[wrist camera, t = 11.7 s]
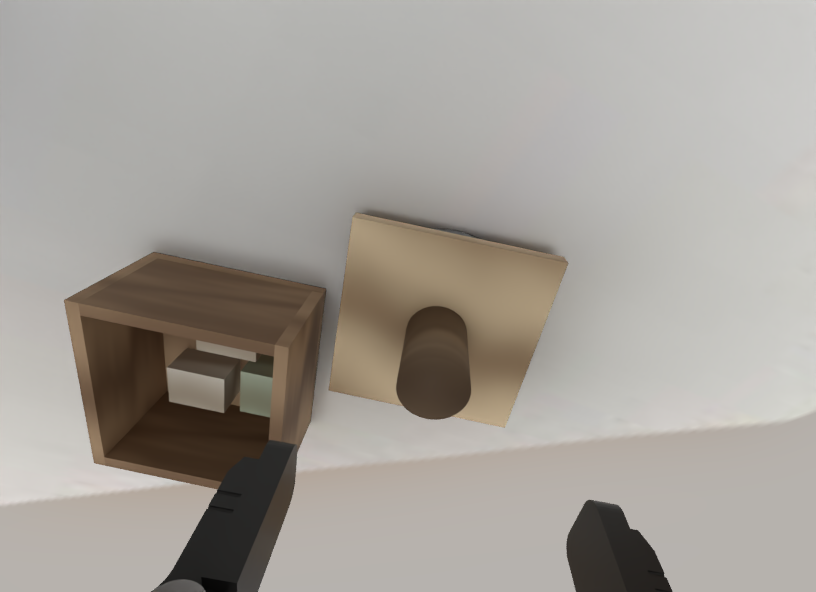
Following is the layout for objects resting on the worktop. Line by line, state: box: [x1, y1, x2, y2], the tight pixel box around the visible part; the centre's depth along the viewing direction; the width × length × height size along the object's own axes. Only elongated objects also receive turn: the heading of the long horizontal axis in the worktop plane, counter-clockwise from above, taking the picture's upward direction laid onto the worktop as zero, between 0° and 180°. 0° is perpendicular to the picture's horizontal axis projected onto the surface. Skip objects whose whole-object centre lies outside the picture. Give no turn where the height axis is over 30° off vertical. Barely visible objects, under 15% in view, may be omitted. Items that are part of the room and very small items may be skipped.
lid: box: [329, 213, 568, 428], centre depth 20 cm, size 10×10×6 cm
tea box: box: [64, 252, 326, 489], centre depth 23 cm, size 10×10×6 cm
